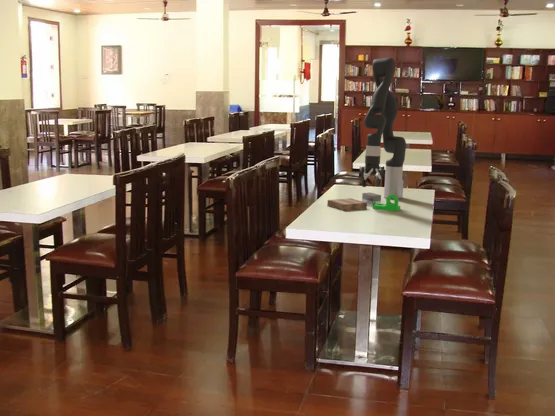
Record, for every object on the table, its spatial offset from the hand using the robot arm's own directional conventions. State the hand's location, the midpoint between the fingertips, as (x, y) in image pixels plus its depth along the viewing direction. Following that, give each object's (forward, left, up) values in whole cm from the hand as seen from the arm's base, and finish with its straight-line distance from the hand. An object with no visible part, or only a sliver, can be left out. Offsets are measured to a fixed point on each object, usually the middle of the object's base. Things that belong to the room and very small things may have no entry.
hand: (370, 186), depth 319 cm
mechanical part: (-2, +12, -10) cm, 16 cm away
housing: (-1, 0, -10) cm, 10 cm away
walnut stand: (+14, 0, -10) cm, 17 cm away
